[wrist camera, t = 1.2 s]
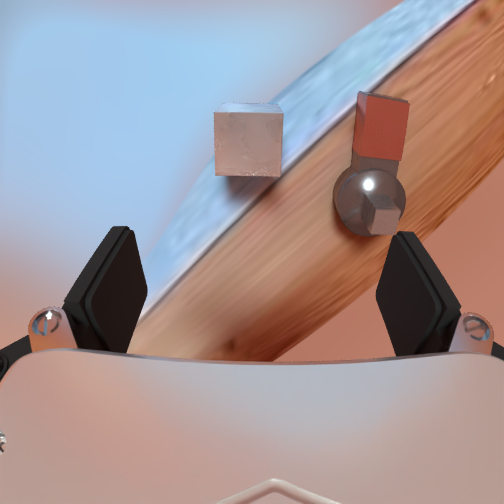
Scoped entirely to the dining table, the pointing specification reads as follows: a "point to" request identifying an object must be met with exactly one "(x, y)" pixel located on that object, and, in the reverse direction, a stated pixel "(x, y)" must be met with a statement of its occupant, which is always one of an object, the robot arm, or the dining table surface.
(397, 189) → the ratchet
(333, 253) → the dining table surface
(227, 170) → the brushed aluminum cube
